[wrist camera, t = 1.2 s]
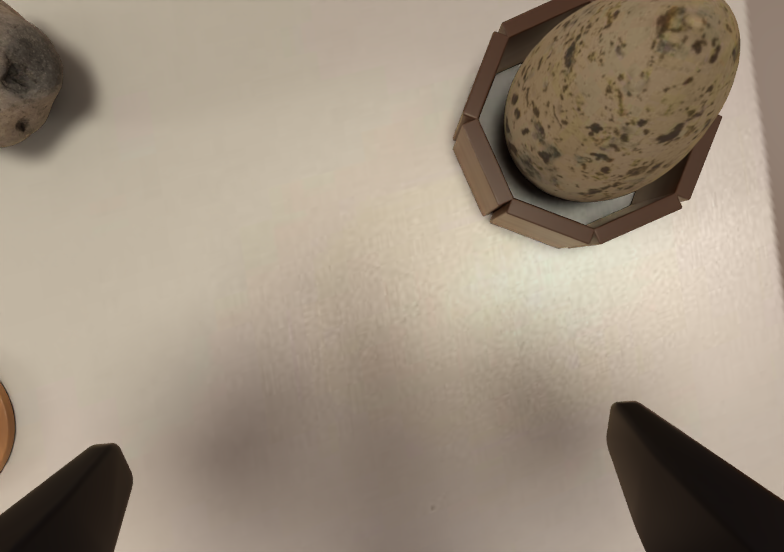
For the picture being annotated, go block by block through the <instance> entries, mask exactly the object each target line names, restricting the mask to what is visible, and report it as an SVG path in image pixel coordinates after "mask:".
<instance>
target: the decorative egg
mask: <svg viewBox="0 0 784 552" xmlns="http://www.w3.org/2000/svg"><path fill="white" fill-rule="evenodd" d="M739 56H740V34H739V29H738V24H737V21H736V18H735V16H734V14H733V12H732V10H731V9H730V7H729V5H728V4H727V3H726V2H725V1H724V0H596V1H594V2H592V3H590V4H588V5H586V6H584V7H583V8H581V9H579V10H578V11H576V12H574V13H573V14H571V15H570V16H569V17H567V18H566V19H564V20H563V21H562V22H560V23H559V24H558V25H557V26H555V27H554V28H553V29H552V30H551V31H550V32H549V33H548V34H546V35H545V36H544V37H543V38H542V40H541V41H540V42H539V43H538V44H537V45H536V46H535V47H534V48H533V49H532V51H531V52H530V53H529V55H528V56H527V57H526V59H525V60H524V62H523V63H522V65H521V66H520V68H519V70H518V72H517V73H516V75H515V78H514V80H513V82H512V84H511V87H510V90H509V93H508V96H507V100H506V105H505V111H504V133H505V139H506V143H507V147H508V150H509V153H510V155H511V157H512V159H513V161H514V163H515V164H516V166H517V168H518V169H519V170H520V172H521V173H522V174H523V175H524V176H525V177H526V178H527V179H528V180H529V181H530V182H531V183H532V184H533V185H535V186H536V187H537V188H539V189H540V190H542V191H544V192H546V193H548V194H550V195H552V196H555V197H558V198H561V199H565V200H570V201H577V202H597V201H605V200H610V199H614V198H618V197H621V196H624V195H627V194H630V193H632V192H634V191H637V190H639V189H641V188H643V187H645V186H646V185H648V184H650V183H652V182H653V181H655V180H657V179H658V178H659V177H661V176H662V175H664V174H665V173H666V172H668V171H669V170H670V169H672V168H673V167H674V166H675V165H676V164H677V163H679V162H680V161H681V160H682V159H683V158H684V157H685V156H686V155H687V154H688V153H689V152H690V151H691V150H692V148H693V147H694V146H695V145H696V144H697V143H698V142H699V140H700V139H701V138H702V137H703V135H704V134H705V133H706V131H707V130H708V129H709V127H710V126H711V124H712V123H713V121H714V120H715V118H716V117H717V115H718V114H719V112H720V110H721V109H722V107H723V105H724V103H725V101H726V99H727V97H728V95H729V92H730V90H731V87H732V85H733V82H734V78H735V75H736V71H737V67H738V63H739Z"/></svg>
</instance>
